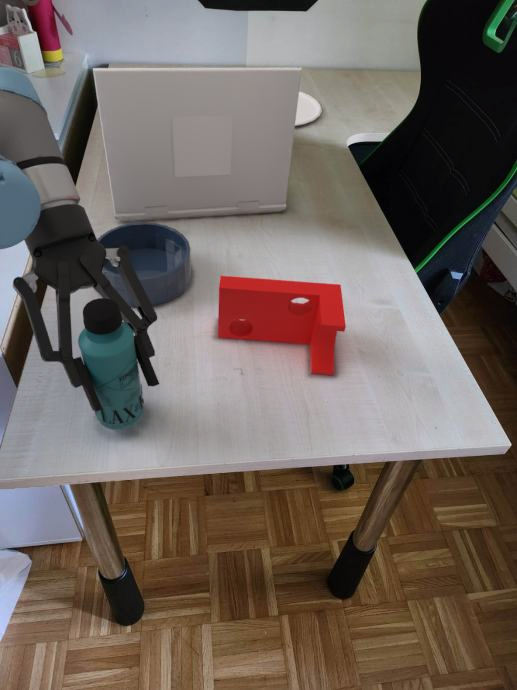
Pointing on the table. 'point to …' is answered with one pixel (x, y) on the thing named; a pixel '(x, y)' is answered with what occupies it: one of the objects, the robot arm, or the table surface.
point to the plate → (307, 109)
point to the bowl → (150, 260)
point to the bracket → (283, 315)
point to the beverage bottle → (111, 364)
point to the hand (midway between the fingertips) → (126, 396)
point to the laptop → (197, 139)
